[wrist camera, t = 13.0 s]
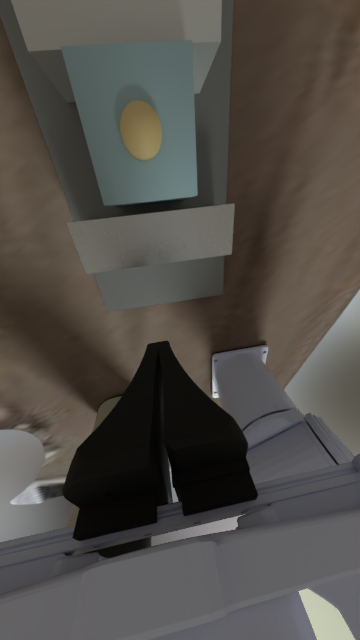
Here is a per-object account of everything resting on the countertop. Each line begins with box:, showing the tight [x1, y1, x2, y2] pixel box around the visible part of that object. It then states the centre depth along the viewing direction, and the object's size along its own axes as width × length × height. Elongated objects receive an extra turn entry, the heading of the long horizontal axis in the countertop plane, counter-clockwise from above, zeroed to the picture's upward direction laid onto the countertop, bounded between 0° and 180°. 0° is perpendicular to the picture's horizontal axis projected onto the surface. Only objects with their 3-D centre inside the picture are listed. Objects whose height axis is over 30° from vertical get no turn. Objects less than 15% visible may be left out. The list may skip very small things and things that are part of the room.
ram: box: [67, 203, 235, 274], centre depth 13 cm, size 3×10×4 cm, turn 95°
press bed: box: [0, 0, 234, 312], centre depth 12 cm, size 18×12×5 cm, turn 5°
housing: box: [60, 40, 198, 207], centre depth 10 cm, size 5×5×5 cm
